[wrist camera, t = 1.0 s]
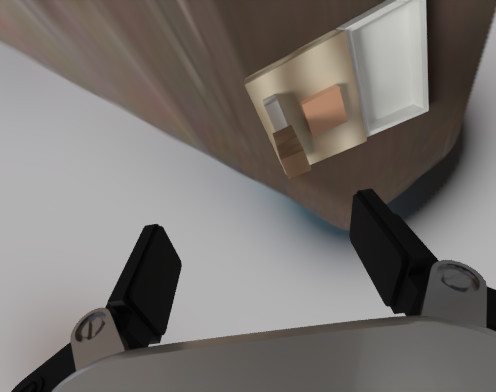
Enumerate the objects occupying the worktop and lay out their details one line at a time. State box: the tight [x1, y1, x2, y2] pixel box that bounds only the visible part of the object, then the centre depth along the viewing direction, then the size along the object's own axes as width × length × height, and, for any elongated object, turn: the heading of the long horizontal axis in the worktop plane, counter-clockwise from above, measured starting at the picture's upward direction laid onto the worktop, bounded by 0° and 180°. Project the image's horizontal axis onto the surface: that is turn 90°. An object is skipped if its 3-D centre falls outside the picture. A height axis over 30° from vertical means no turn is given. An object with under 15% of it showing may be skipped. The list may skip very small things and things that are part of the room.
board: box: [244, 30, 367, 175], centre depth 32 cm, size 12×14×4 cm
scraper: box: [263, 94, 311, 179], centre depth 27 cm, size 2×9×10 cm, turn 26°
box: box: [336, 0, 429, 137], centre depth 29 cm, size 8×14×3 cm, turn 26°
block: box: [300, 84, 348, 137], centre depth 29 cm, size 4×4×2 cm
